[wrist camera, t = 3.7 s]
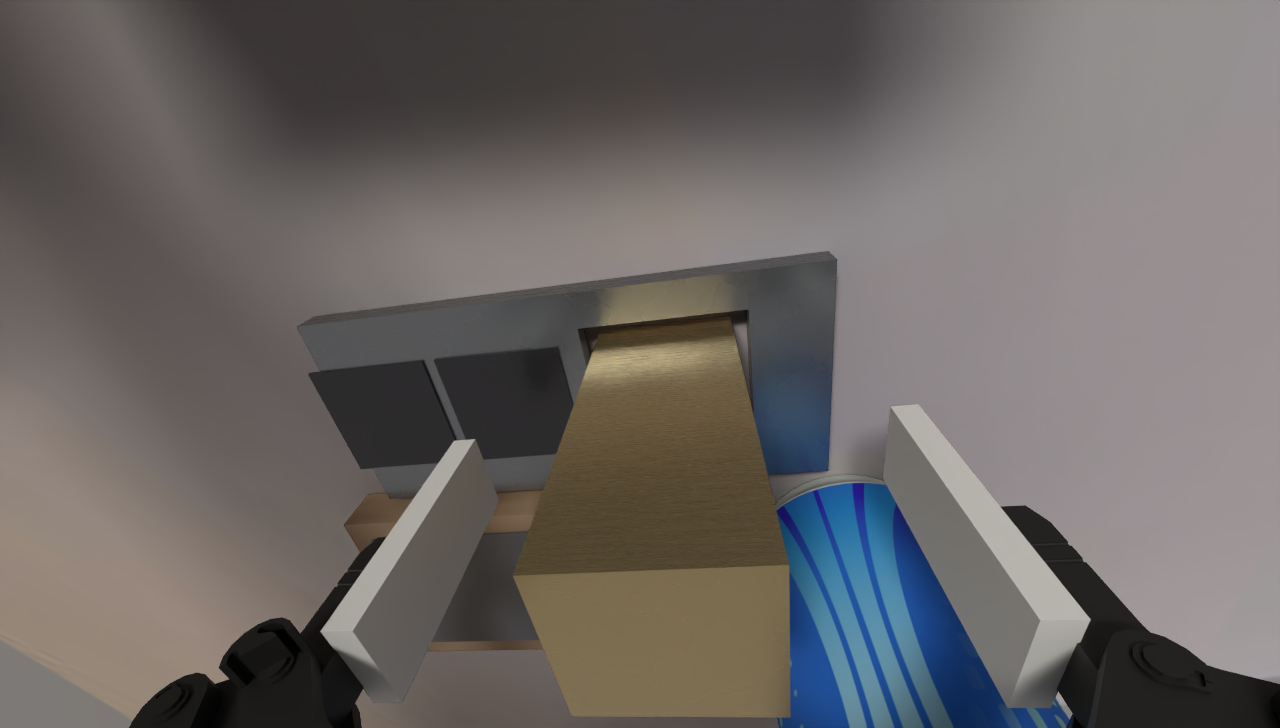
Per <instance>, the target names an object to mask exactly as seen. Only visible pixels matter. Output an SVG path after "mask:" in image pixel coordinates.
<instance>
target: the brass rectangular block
mask: <svg viewBox="0 0 1280 728" xmlns="http://www.w3.org/2000/svg"><path fill="white" fill-rule="evenodd" d="M513 578H514V580H515V582H516V585H517V587H518V590H519V592H520V594H521V597H522V599H523V601H524V604H525V606H526V609H527V611H528V613H529V616H530V618H531V620H532V623H533V625H534V627H535V630H536V632H537V635H538V637H539V639H540V642H541V644H542V646H543V649H544V651H545V654H546V656H547V658H548V661H549V663H550V665H551V668H552V670H553V673H554V675H555V677H556V680H557V682H558V684H559V687H560V689H561V692H562V694H563V696H564V699H565V701H566V703H567V706H568V708H569V711H570V713H571V715H572V716H588V717H788V718H791V714H790V591H789V562H788V558H787V553H786V549H785V545H784V541H783V537H782V532H781V528H780V524H779V520H778V516H777V511H776V507H775V503H774V499H773V495H772V490H771V486H770V482H769V478H768V474H767V469H766V465H765V461H764V457H763V453H762V448H761V444H760V440H759V436H758V432H757V427H756V423H755V419H754V415H753V411H752V407H751V402H750V398H749V394H748V390H747V386H746V381H745V377H744V373H743V369H742V365H741V360H740V356H739V352H738V348H737V344H736V339H735V335H734V331H733V327H732V323H731V318H730V316H722V317H713V318H704V319H695V320H686V321H677V322H668V323H659V324H650V325H641V326H633V327H624V328H615V329H606V330H600V333H599V336H598V338H597V341H596V344H595V347H594V350H593V352H592V355H591V358H590V361H589V364H588V366H587V369H586V372H585V375H584V378H583V380H582V383H581V386H580V389H579V392H578V394H577V397H576V400H575V403H574V406H573V408H572V411H571V414H570V417H569V420H568V422H567V425H566V428H565V431H564V434H563V436H562V439H561V442H560V445H559V448H558V450H557V453H556V456H555V459H554V462H553V464H552V467H551V470H550V473H549V476H548V478H547V481H546V484H545V487H544V490H543V492H542V495H541V498H540V501H539V504H538V506H537V509H536V512H535V515H534V518H533V520H532V523H531V526H530V529H529V532H528V534H527V537H526V540H525V543H524V546H523V548H522V551H521V554H520V557H519V560H518V562H517V565H516V568H515V571H514V574H513Z"/></svg>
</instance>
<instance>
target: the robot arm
mask: <svg viewBox="0 0 1280 728" xmlns="http://www.w3.org/2000/svg"><path fill="white" fill-rule="evenodd" d="M883 480H884V481H885V483H886V485H887V487H888V489H889V491H890V492H891V494H892V496H893V498H894V500H895V502H896V503H897V505H898V507H899V509H900V511H901V513H902V515H903V516H904V518H905V520H906V522H907V524H908V526H909V527H910V529H911V531H912V533H913V535H914V537H915V539H916V540H917V542H918V544H919V546H920V548H921V550H922V551H923V553H924V555H925V557H926V559H927V561H928V562H929V564H930V566H931V568H932V570H933V572H934V574H935V575H936V577H937V579H938V581H939V583H940V585H941V586H942V588H943V590H944V592H945V594H946V596H947V597H948V599H949V601H950V603H951V605H952V607H953V609H954V610H955V612H956V614H957V616H958V618H959V620H960V621H961V623H962V625H963V627H964V629H965V631H966V632H967V634H968V636H969V638H970V640H971V642H972V644H973V645H974V647H975V649H976V651H977V653H978V655H979V656H980V658H981V660H982V662H983V664H984V666H985V667H986V669H987V671H988V673H989V675H990V677H991V679H992V680H993V682H994V684H995V686H996V688H997V690H998V691H999V693H1000V695H1001V697H1002V699H1003V701H1004V703H1005V704H1006V706H1007V708H1051V706H1052V704H1053V702H1054V699H1055V697H1056V695H1057V693H1058V691H1059V693H1060V694H1061V696H1062V697H1063V699H1064V701H1065V702H1066V704H1067V705H1068V707H1069V708H1070V710H1071V711H1072V713H1073V714H1072V716H1071V719H1070V720H1069V722H1068V724H1067V726H1066V728H1280V684H1277V683H1273V682H1269V681H1265V680H1261V679H1257V678H1252V677H1248V676H1244V675H1240V674H1236V673H1232V672H1228V671H1224V670H1220V669H1217V668H1214V667H1211V666H1208V665H1206V664H1205V663H1204V662H1203V661H1201V660H1200V659H1199V658H1198V657H1196V656H1195V655H1194V654H1192V653H1191V652H1190V651H1189V650H1187V649H1186V648H1184V647H1182V646H1180V645H1179V644H1177V643H1175V642H1173V641H1171V640H1169V639H1167V638H1166V637H1163V636H1160V635H1157V634H1154V633H1151V632H1149V631H1148V630H1147V629H1146V628H1145V627H1144V626H1143V625H1142V624H1141V623H1140V622H1139V621H1138V620H1137V619H1136V617H1135V616H1134V615H1133V614H1132V613H1131V612H1130V611H1129V610H1128V608H1127V607H1126V606H1125V605H1124V604H1123V603H1122V602H1121V601H1120V600H1119V598H1118V597H1117V596H1116V595H1115V594H1114V593H1113V592H1112V591H1111V589H1110V588H1109V587H1108V586H1107V585H1106V584H1105V583H1104V582H1103V580H1102V579H1101V578H1100V577H1099V576H1098V575H1097V574H1096V573H1095V572H1094V570H1093V569H1092V568H1091V567H1090V566H1089V565H1088V564H1087V563H1086V562H1083V560H1082V557H1081V556H1080V555H1079V554H1078V553H1077V551H1076V550H1075V549H1074V548H1073V547H1072V546H1069V545H1068V541H1067V540H1066V539H1065V538H1064V537H1063V536H1062V535H1061V533H1060V532H1059V531H1058V530H1057V529H1056V528H1055V527H1054V526H1053V525H1052V523H1051V522H1049V521H1048V520H1046V519H1045V518H1043V517H1042V516H1040V515H1039V514H1037V513H1036V512H1034V511H1033V510H1031V509H1030V508H1028V507H1027V506H1005V507H1000V506H999V505H998V503H997V502H996V501H995V500H994V498H993V497H992V496H991V495H990V493H989V492H988V491H987V490H986V488H985V487H984V486H983V485H982V483H981V482H980V481H979V480H978V478H977V477H976V476H975V475H974V473H973V472H972V471H971V470H970V468H969V467H968V466H967V465H966V463H965V462H964V461H963V460H962V458H961V457H960V456H959V455H958V453H957V452H956V451H955V450H954V448H953V447H952V446H951V445H950V443H949V442H948V441H947V440H946V438H945V437H944V436H943V435H942V433H941V432H940V431H939V430H938V428H937V427H936V426H935V425H934V423H933V422H932V421H931V420H930V418H929V417H928V416H927V415H926V413H925V412H924V411H923V410H922V408H921V407H920V406H919V405H905V406H892V407H890V416H889V425H888V435H887V444H886V453H885V462H884V471H883ZM498 501H499V499H498V496H497V494H496V491H495V489H494V486H493V483H492V481H491V478H490V476H489V473H488V470H487V468H486V465H485V463H484V460H483V458H482V455H481V452H480V450H479V447H478V445H477V442H476V440H475V439H470V440H457V441H454V442H453V443H452V445H451V446H450V447H449V449H448V450H447V452H446V453H445V455H444V456H443V457H442V459H441V460H440V462H439V463H438V464H437V466H436V467H435V469H434V470H433V472H432V473H431V474H430V476H429V477H428V479H427V480H426V482H425V483H424V484H423V486H422V487H421V489H420V490H419V492H418V493H417V494H416V496H415V497H414V499H413V500H412V502H411V503H410V504H409V506H408V507H407V509H406V510H405V512H404V513H403V514H402V516H401V517H400V519H399V520H398V522H397V523H396V524H395V526H394V527H393V529H392V530H391V532H390V533H389V534H388V536H387V537H378V538H377V539H375V540H374V541H373V542H372V543H371V544H370V545H368V546H367V547H366V548H365V549H364V550H363V551H362V552H360V554H359V555H358V556H357V558H356V559H355V560H354V562H353V563H352V565H351V566H350V567H349V569H348V572H347V573H345V574H344V575H343V577H342V578H341V580H340V581H339V582H338V586H337V587H335V588H334V589H333V590H332V592H331V593H330V594H329V596H328V597H327V599H326V600H325V601H324V603H323V604H322V605H321V607H320V608H319V609H318V611H317V612H316V613H315V615H314V616H313V618H312V619H311V620H310V622H309V623H308V624H307V626H306V627H305V628H304V630H303V631H302V633H301V634H300V633H299V632H298V630H297V629H296V628H295V627H294V625H293V624H292V623H291V621H290V620H287V619H285V618H275V619H270V620H268V621H265V622H263V623H260V624H258V625H257V626H255V627H253V628H252V629H250V630H249V631H247V632H246V633H244V634H243V635H242V636H241V637H240V638H239V639H238V640H237V641H236V642H235V643H233V644H232V646H231V647H230V648H229V650H228V651H227V652H226V654H225V655H224V656H223V658H222V661H221V663H220V666H219V669H220V670H221V671H222V672H223V673H224V674H225V675H226V676H227V677H228V678H229V680H226V681H223V682H220V683H217V684H214V683H213V682H212V681H211V680H210V679H209V678H208V677H207V676H206V675H205V674H201V673H194V674H190V675H186V676H183V677H182V678H180V679H178V680H176V681H174V682H172V683H170V684H169V685H167V686H166V687H165V688H163V689H162V690H161V691H159V692H158V693H157V694H155V695H154V696H153V697H152V698H151V699H150V700H149V701H148V702H147V703H146V704H145V705H144V706H143V707H142V708H141V710H140V711H139V713H138V714H137V716H136V717H135V718H134V720H133V721H132V723H131V725H130V727H129V728H362V726H361V719H360V712H359V710H358V708H357V706H356V704H355V702H356V700H357V699H358V697H359V695H360V693H361V691H362V690H363V689H364V690H365V692H366V693H367V694H368V696H369V697H370V698H371V700H372V701H373V702H399V703H403V700H404V698H405V696H406V694H407V692H408V690H409V688H410V686H411V684H412V682H413V679H414V677H415V675H416V673H417V671H418V669H419V667H420V665H421V663H422V661H423V659H424V656H425V654H426V652H427V650H428V648H429V646H430V644H431V642H432V640H433V638H434V635H435V633H436V631H437V629H438V627H439V625H440V623H441V621H442V619H443V617H444V615H445V612H446V610H447V608H448V606H449V604H450V602H451V600H452V598H453V596H454V594H455V592H456V589H457V587H458V585H459V583H460V581H461V579H462V577H463V575H464V573H465V571H466V568H467V566H468V564H469V562H470V560H471V558H472V556H473V554H474V552H475V550H476V548H477V545H478V543H479V541H480V539H481V537H482V535H483V533H484V531H485V529H486V527H487V524H488V522H489V520H490V518H491V516H492V514H493V512H494V510H495V508H496V506H497V504H498Z"/></svg>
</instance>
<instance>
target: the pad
mask: <svg viewBox="0 0 1280 728" xmlns="http://www.w3.org/2000/svg"><path fill="white" fill-rule="evenodd" d="M543 490H544V489H538V490H523V491H507V492H496V494H497V496H498V499H499V501H498V504H497V506H496V508H495V510H494V512H493V514H492V516H491V518H490V520H489V522H488V524H487V527H486V529H485V531H484V533H483V535H482V537H481V539H480V541H479V543H478V545H477V548H476V550H475V552H474V554H473V556H472V558H471V560H470V562H469V564H468V566H467V568H466V571H465V573H464V575H463V577H462V579H461V581H460V583H459V585H458V587H457V589H456V592H455V594H454V596H453V598H452V600H451V602H450V604H449V606H448V608H447V610H446V612H445V615H444V617H443V619H442V621H441V623H440V625H439V627H438V629H437V631H436V633H435V635H434V638H433V640H432V642H431V644H430V646H429V648H428V650H427V651H465V650H529V649H543V646H542V644H541V642H540V639H539V637H538V635H537V632H536V630H535V627H534V625H533V623H532V620H531V618H530V616H529V613H528V611H527V609H526V606H525V604H524V601H523V599H522V597H521V594H520V592H519V590H518V587H517V585H516V582H515V580H514V578H513V574H514V571H515V568H516V565H517V562H518V560H519V557H520V554H521V551H522V548H523V546H524V543H525V540H526V537H527V534H528V532H529V529H530V526H531V523H532V520H533V518H534V515H535V512H536V509H537V506H538V504H539V501H540V498H541V495H542V492H543ZM413 499H414V498H400V499H389V497H388V495H387V493H381V494H368V495H367V497H366V498H365V499H364V500H363V502H362V503H361V504H360V505H359V507H358V508H357V509H356V510H355V512H354V513H353V514H352V515H351V517H350V518H349V519H348V520H347V522H346V523H345V524H344V527H345V528H346V530H347V532H348V533H349V535H350V536H351V538H352V540H353V541H354V543H355V544H356V546H357V548H358V549H359V551H360V552H362V551H363V550H364V549H365V548H366V547H367V546H368V545H370V544H371V543H372V542H373V541H374V540H375V539H377V538H378V537H387V536H388V534H389V533H390V532H391V530H392V529H393V527H394V526H395V524H396V523H397V522H398V520H399V519H400V517H401V516H402V514H403V513H404V512H405V510H406V509H407V507H408V506H409V504H410V503H411V502H412V500H413Z"/></svg>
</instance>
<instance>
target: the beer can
mask: <svg viewBox="0 0 1280 728" xmlns="http://www.w3.org/2000/svg"><path fill="white" fill-rule="evenodd" d="M775 507H776V511H777V516H778V520H779V524H780V528H781V532H782V537H783V541H784V545H785V549H786V553H787V558H788V562H789V591H790V714H791V718H788V717H777V719H778V725H779V728H1066V726H1067V724H1068V722H1069V718H1068V717H1067V715H1066V713H1065V712H1064V710H1063V709H1062V707H1061V706H1060V704H1059V702H1058V701H1057V699H1056V698H1055V699H1054V702H1053V704H1052V706H1051V708H1007V706H1006V704H1005V703H1004V701H1003V699H1002V697H1001V695H1000V693H999V691H998V690H997V688H996V686H995V684H994V682H993V680H992V679H991V677H990V675H989V673H988V671H987V669H986V667H985V666H984V664H983V662H982V660H981V658H980V656H979V655H978V653H977V651H976V649H975V647H974V645H973V644H972V642H971V640H970V638H969V636H968V634H967V632H966V631H965V629H964V627H963V625H962V623H961V621H960V620H959V618H958V616H957V614H956V612H955V610H954V609H953V607H952V605H951V603H950V601H949V599H948V597H947V596H946V594H945V592H944V590H943V588H942V586H941V585H940V583H939V581H938V579H937V577H936V575H935V574H934V572H933V570H932V568H931V566H930V564H929V562H928V561H927V559H926V557H925V555H924V553H923V551H922V550H921V548H920V546H919V544H918V542H917V540H916V539H915V537H914V535H913V533H912V531H911V529H910V527H909V526H908V524H907V522H906V520H905V518H904V516H903V515H902V513H901V511H900V509H899V507H898V505H897V503H896V502H895V500H894V498H893V496H892V494H891V492H890V491H889V489H888V487H887V485H886V483H885V482H884V481H882V480H879V479H876V478H872V477H867V476H861V475H835V476H828V477H823V478H819V479H816V480H813V481H810V482H807V483H805V484H803V485H800V486H798V487H797V488H795V489H793V490H792V491H790V492H789V493H787V494H786V495H785V496H783V497H782V498H781V499H780V500H779V501H778V502H777V503H776V504H775Z"/></svg>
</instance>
